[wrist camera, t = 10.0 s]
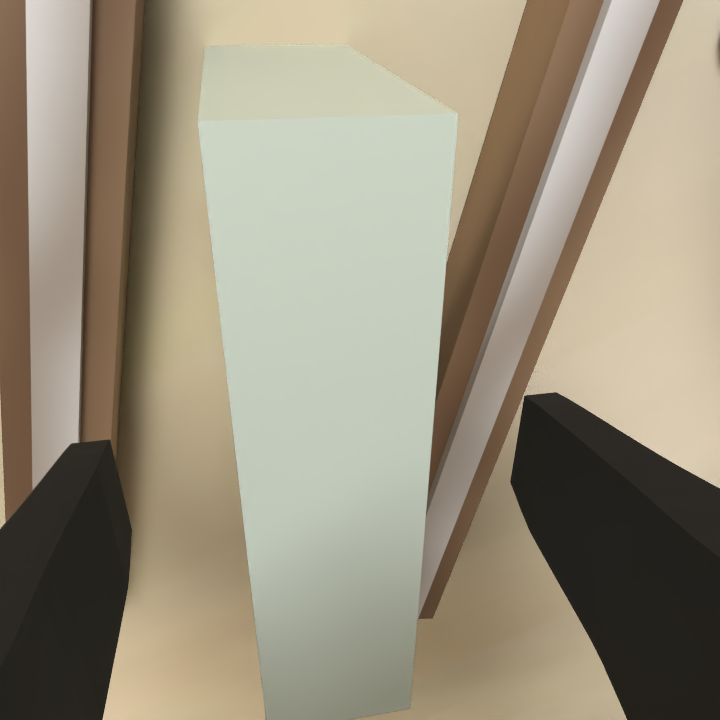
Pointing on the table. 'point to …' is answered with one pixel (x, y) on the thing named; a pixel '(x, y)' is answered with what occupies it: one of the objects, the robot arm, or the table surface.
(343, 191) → the door panel
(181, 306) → the table surface
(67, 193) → the sliding track
